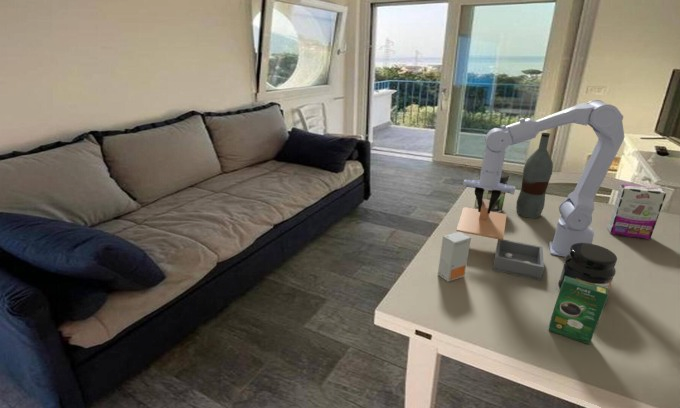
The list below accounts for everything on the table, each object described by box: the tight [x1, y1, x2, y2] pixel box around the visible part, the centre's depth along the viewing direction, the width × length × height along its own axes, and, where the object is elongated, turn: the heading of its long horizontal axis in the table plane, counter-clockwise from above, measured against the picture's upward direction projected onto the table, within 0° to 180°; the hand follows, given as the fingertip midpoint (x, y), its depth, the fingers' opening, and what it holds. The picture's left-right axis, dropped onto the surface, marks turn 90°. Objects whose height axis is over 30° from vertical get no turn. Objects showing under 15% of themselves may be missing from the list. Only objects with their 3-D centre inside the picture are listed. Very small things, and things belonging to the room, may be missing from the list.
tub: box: [492, 238, 545, 281], centre depth 106 cm, size 12×12×4 cm
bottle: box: [515, 132, 554, 219], centre depth 133 cm, size 9×9×30 cm
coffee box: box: [548, 276, 609, 345], centre depth 78 cm, size 8×3×13 cm, turn 57°
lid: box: [455, 199, 508, 240], centre depth 113 cm, size 13×13×6 cm
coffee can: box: [473, 170, 510, 213], centre depth 141 cm, size 10×10×14 cm
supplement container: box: [557, 243, 618, 292], centre depth 92 cm, size 10×10×12 cm
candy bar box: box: [607, 183, 667, 241], centre depth 121 cm, size 11×5×16 cm, turn 68°
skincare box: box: [437, 231, 472, 283], centre depth 99 cm, size 6×4×12 cm
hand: (484, 211), depth 116 cm, fingers closed on lid
